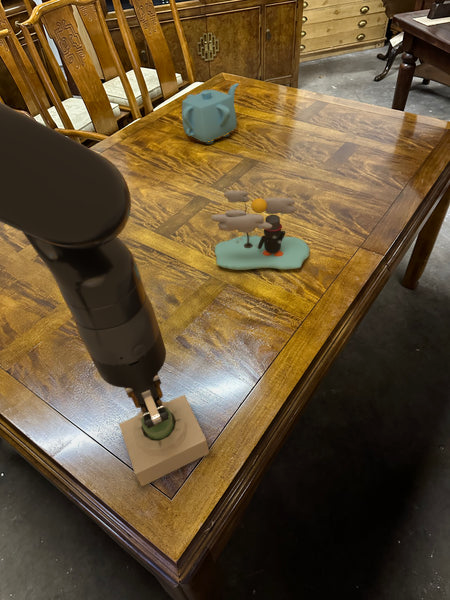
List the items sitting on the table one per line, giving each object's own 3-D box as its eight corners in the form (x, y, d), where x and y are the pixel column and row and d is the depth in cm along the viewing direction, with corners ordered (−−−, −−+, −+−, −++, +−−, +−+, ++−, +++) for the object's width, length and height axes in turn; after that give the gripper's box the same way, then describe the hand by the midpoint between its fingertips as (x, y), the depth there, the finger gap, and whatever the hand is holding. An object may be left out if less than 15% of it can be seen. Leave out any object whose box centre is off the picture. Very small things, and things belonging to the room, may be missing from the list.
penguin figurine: (309, 243, 90) (314, 179, 79) (308, 276, 83) (313, 210, 72) (218, 241, 93) (211, 179, 83) (210, 272, 86) (200, 209, 75)
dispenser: (142, 486, 56) (131, 467, 52) (126, 437, 62) (115, 416, 57) (209, 453, 59) (204, 432, 54) (188, 408, 64) (182, 386, 60)
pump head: (150, 445, 54) (146, 438, 53) (141, 420, 57) (137, 413, 56) (178, 432, 55) (175, 424, 54) (168, 408, 58) (165, 400, 57)
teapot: (231, 147, 126) (228, 101, 117) (179, 147, 129) (172, 102, 120) (241, 122, 138) (239, 79, 129) (193, 123, 142) (188, 80, 132)
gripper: (73, 306, 46) (116, 392, 58) (101, 398, 37) (144, 476, 50) (138, 282, 48) (166, 370, 60) (178, 364, 39) (202, 448, 51)
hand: (156, 418), depth 55 cm, fingers closed
